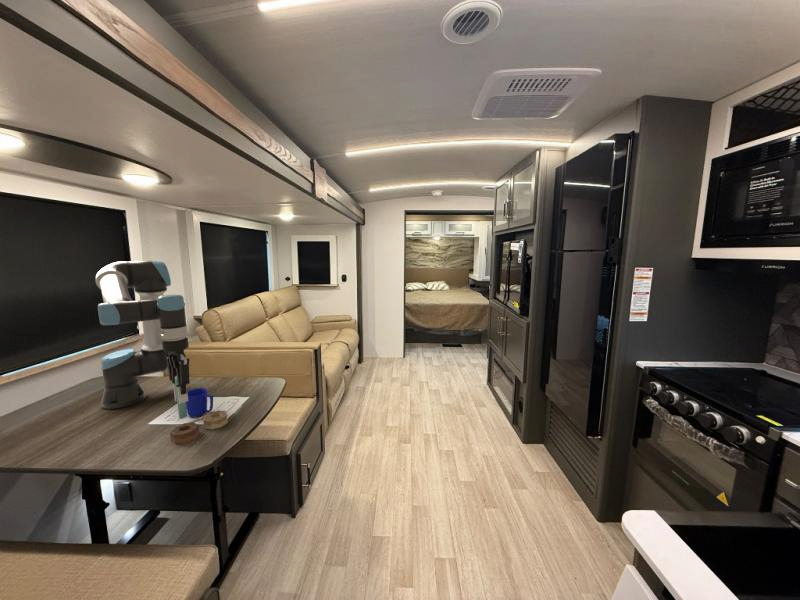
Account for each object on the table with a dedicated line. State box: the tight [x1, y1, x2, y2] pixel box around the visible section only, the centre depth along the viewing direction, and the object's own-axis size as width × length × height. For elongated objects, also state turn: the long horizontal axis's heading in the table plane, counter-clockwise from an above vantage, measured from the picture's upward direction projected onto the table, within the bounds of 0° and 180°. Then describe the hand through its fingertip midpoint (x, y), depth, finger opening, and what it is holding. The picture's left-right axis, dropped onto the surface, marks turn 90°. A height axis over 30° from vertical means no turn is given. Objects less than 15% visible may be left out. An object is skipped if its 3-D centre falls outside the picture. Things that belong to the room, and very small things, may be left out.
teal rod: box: [175, 375, 188, 419], centre depth 113 cm, size 2×2×16 cm
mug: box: [186, 387, 214, 418], centre depth 131 cm, size 8×12×10 cm
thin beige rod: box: [186, 414, 206, 423], centre depth 126 cm, size 14×1×1 cm, turn 147°
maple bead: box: [202, 409, 229, 430], centre depth 124 cm, size 8×8×4 cm
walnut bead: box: [169, 421, 200, 445], centre depth 115 cm, size 8×8×4 cm
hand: (181, 400), depth 113 cm, fingers closed on teal rod, 2 cm apart
